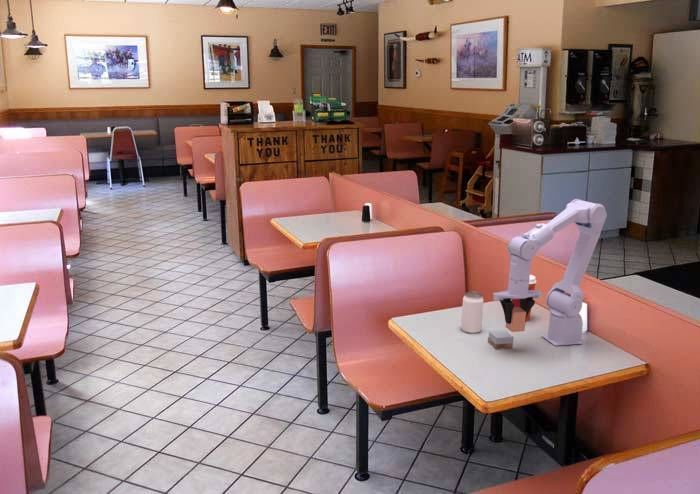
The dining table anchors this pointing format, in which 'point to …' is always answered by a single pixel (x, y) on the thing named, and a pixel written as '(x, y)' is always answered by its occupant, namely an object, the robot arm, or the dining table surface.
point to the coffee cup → (531, 287)
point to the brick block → (517, 320)
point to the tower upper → (501, 337)
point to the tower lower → (499, 346)
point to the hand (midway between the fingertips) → (515, 322)
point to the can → (472, 312)
